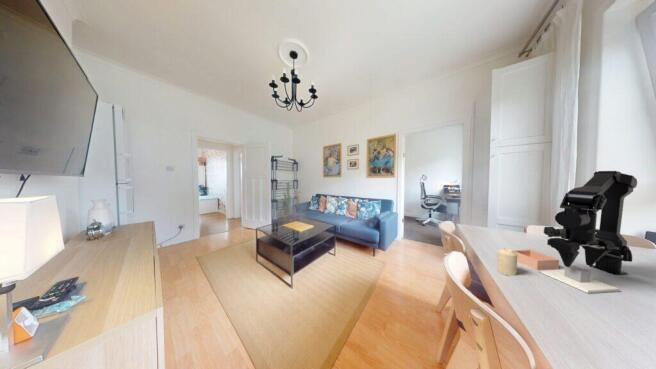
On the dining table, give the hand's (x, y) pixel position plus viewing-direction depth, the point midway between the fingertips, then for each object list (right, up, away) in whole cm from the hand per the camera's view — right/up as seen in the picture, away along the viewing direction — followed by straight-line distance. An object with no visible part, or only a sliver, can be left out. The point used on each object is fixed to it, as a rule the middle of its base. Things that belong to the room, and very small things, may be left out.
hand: (577, 266), depth 64 cm
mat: (0, -6, 0) cm, 6 cm away
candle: (-20, -6, +7) cm, 22 cm away
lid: (0, -6, 0) cm, 6 cm away
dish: (-1, -6, +13) cm, 14 cm away
